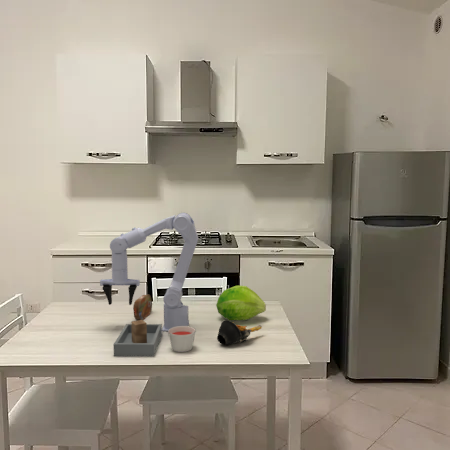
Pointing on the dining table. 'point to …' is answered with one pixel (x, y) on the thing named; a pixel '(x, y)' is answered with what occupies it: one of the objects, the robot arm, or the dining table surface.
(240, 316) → the green papaya
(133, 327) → the block
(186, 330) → the candle
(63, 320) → the dining table surface
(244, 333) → the fried shrimp in bowl
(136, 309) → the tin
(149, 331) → the bin
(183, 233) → the robot arm
